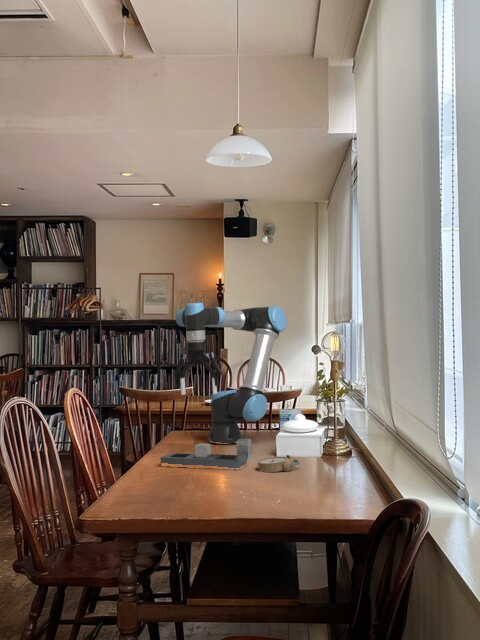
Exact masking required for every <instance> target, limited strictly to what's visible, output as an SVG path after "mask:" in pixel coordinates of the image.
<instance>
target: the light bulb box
mask: <svg viewBox="0 0 480 640" xmlns="http://www.w3.org/2000/svg"><path fill="white" fill-rule="evenodd" d="M298 414H302V415H303V408H281V409H280V410H279V432H280V431H281V430H282V429H283V428H282V424H283V423H285V422H287V421H290V420H294V417H295V416H296V415H298Z"/></svg>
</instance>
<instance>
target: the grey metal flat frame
mask: <svg viewBox="0 0 480 640" xmlns="http://www.w3.org/2000/svg"><path fill="white" fill-rule="evenodd" d="M161 463H168V464H182V465H203V466H218V467H228V468H240V467H241V466H243V465H245V464H246V463H247V464H248V462H247V455H237V454H217V453H211V457H210V458H208V459H206V458H195V452H194V453H193V452H192V453H191V452H190V453H189V452H171V453H167V454H165V455H164V456H161V457H160V464H161Z"/></svg>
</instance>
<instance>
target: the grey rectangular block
mask: <svg viewBox="0 0 480 640" xmlns="http://www.w3.org/2000/svg"><path fill="white" fill-rule="evenodd" d="M194 453H195V458H206V459H208V458H210V457H211V454H212V444H210V443H203V442H201V443H197V444H194Z"/></svg>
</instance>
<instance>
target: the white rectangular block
mask: <svg viewBox="0 0 480 640" xmlns="http://www.w3.org/2000/svg"><path fill="white" fill-rule="evenodd" d="M252 442H253V441H252V438H242V439H239V440H237V443H236V455H247V460H250V459H252V460H253V449H252V448H253V447H252Z"/></svg>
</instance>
